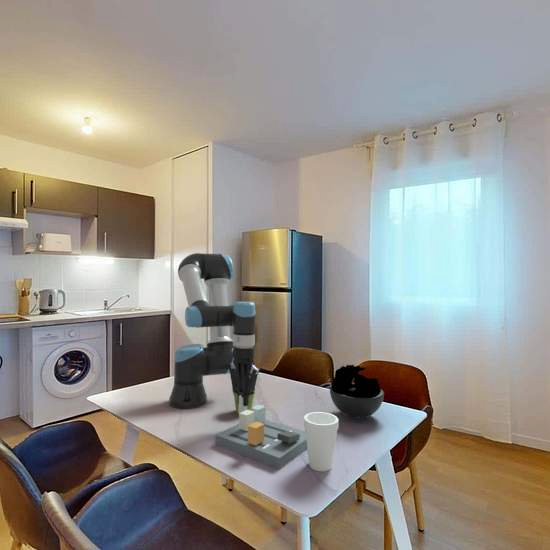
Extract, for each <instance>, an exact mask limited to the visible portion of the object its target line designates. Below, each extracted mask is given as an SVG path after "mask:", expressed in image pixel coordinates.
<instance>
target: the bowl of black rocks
mask: <svg viewBox="0 0 550 550" xmlns="http://www.w3.org/2000/svg"><path fill="white" fill-rule="evenodd" d="M365 370H366V367H361V366H360V365H356V366H355V364H346V365H345V366H344V365H342V366H340V368H338V369H336V370H335V373H334V377H333V379H332V382H331V386H330V388H329V394H330V398H331V401H332V402H333V404H334V406H335V407H336V409H337V410H338V411H340V413H342V414H343V415H345V416H347V417H349V418H352V419H366V418H368V417H370V416H372V415H374V414H375V413H376V412H377V411H378V410H379V409H380V407H381V406H382V403H383V401H384V396H385V392H384V390H382V389H381V386H380V383H379V381H378V378H367V377H366V376H365V375H363V374H360V372H362V371H365Z"/></svg>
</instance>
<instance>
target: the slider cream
mask: <svg viewBox="0 0 550 550" xmlns="http://www.w3.org/2000/svg"><path fill="white" fill-rule="evenodd" d="M238 417H239V422H238V424H239V429H241V430H244V431H248V426H249V425H251V424H253V423H254V419H255V412H254V411H250V410H246V411H243V412H241V413H240V414H238Z"/></svg>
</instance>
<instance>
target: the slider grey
mask: <svg viewBox="0 0 550 550" xmlns="http://www.w3.org/2000/svg"><path fill="white" fill-rule="evenodd" d="M266 408H267V407H266V405H265V406H264V405H261V404H256V405H255V406H252V408H251V411H254V412H255V419H254V423H255V422H260V423H263V422H265V420H266V412H267V410H266Z"/></svg>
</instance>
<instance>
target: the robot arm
mask: <svg viewBox="0 0 550 550" xmlns="http://www.w3.org/2000/svg"><path fill="white" fill-rule="evenodd" d="M177 274H178V275H177V276H178V279H179V280H180V281H181V282H182V285H183V289H184V293H185V294H184V295H185V298H186V301H187V305H188V306H187V307H186V308H185V311H184V312H185V313H184V320H185V326H187V328H197V329H199V328H209V340H208V341H207V342H206V347H205V346H204V345H203V344H202V343H196V344H195V343H194V344H193V343H192V344H186V345H183V346H179V347H178V348H177V349H175V352H174V358H173V359H174V360H173V362H174V365H173V366H174V368H173V369H174V370H173V371H174V374H173V375H174V377H173V387H172V390H171V393H170V396H169V400H168V401H169V403H168V404H169V406H170V407H172V408H176V409H194V408H195V409H196V408H198V407H202V406H204V405H205V404H207V401H208V400H207V399H208V395H207V393H206V390H205V386H204V377H205V376H206V377H207V376H208V377H209V376H217V375H218V376H219V375H226V374H227V375H228V374H229V375H230V381H231V388H232V389H233V392H234V393H236V394H237V395H238V404H239V414H240V413H241V412H243V411H246V410H247V405H248V404H249V396H250V395H253V394H254V389H255V388H256V384H257V379H258V375H259V373H260V371H261V369H260V368H259V367H256V365H255V362H254V358H255V349H256V348H255V347H254V346H255V345H256V344H255V343H256V341H255V340H256V334H255V332H256V331H255V330H256V314H257V313H256V305H255V303H254V302H253V301H236V302H234V303H233V304H230V305H229V300H228V285H229V284H230V281H231V280H232V279H233V277H234V264H233V260H232V259H231V257H230V255H228V254H222V253H200V252H196V253H192V254H188V255H187V256H186V257H184V258H183V259H182V260H181V261H180V264H179V265H178V268H177ZM202 281H203V282H204V284H203V282H202ZM204 285H205V286H206V287H207V294H206V290H205V286H204ZM207 295H208V296H207ZM230 327H232V329H233V330H232V331H233V332H232V333H233V334H232V335H233V337H232V338H231V334H230V332H231V330H230ZM233 392H232V393H233ZM254 395H255V394H254ZM239 414H238V415H239Z"/></svg>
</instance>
